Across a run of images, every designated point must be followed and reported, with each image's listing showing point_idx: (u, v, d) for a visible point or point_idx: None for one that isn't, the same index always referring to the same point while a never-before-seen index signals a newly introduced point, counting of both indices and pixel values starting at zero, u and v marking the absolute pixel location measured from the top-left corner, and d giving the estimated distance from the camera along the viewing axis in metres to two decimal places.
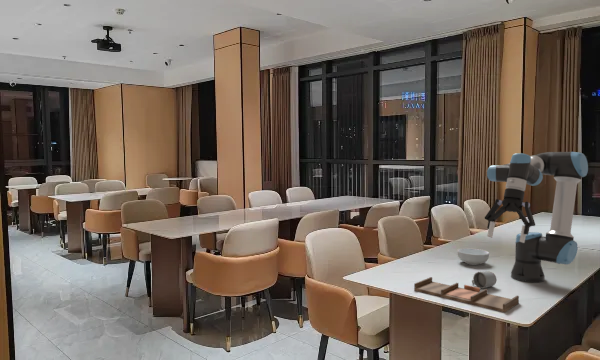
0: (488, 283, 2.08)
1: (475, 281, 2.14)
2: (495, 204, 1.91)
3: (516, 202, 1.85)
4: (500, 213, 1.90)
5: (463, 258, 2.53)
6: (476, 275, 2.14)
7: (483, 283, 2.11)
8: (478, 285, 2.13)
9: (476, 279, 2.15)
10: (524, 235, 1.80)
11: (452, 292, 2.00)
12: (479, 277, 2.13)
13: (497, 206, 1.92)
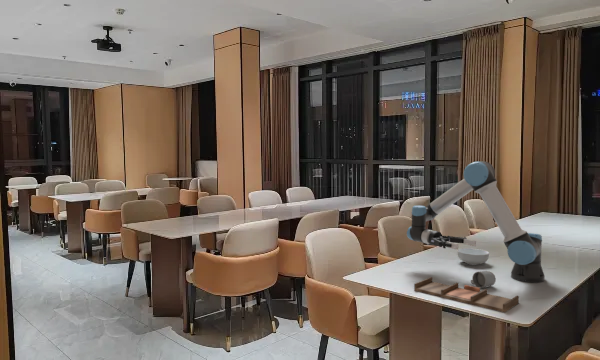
0: (487, 283, 2.09)
1: (474, 281, 2.15)
2: None
3: None
4: (454, 240, 2.31)
5: (463, 258, 2.53)
6: (475, 275, 2.15)
7: (482, 283, 2.11)
8: (477, 285, 2.13)
9: (475, 279, 2.15)
10: (452, 245, 2.19)
11: (452, 292, 2.00)
12: (478, 277, 2.13)
13: None
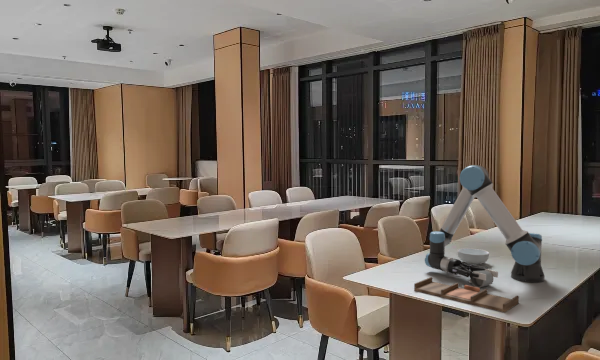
0: (485, 282, 2.10)
1: (472, 280, 2.15)
2: None
3: None
4: (474, 270, 2.21)
5: (463, 258, 2.53)
6: None
7: (480, 282, 2.12)
8: (475, 284, 2.14)
9: (473, 278, 2.16)
10: (479, 275, 2.09)
11: (452, 292, 2.00)
12: None
13: (472, 267, 2.25)
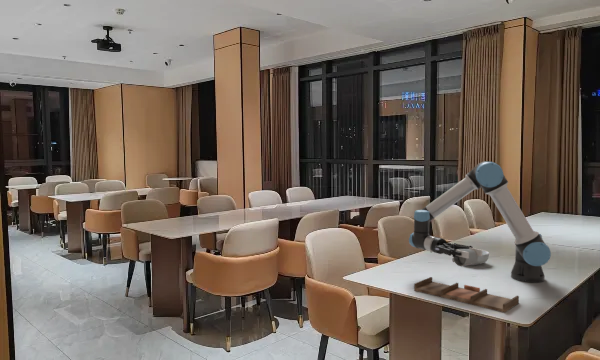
0: (468, 261, 2.00)
1: (455, 259, 2.05)
2: None
3: None
4: None
5: None
6: None
7: (463, 261, 2.02)
8: (458, 263, 2.04)
9: (456, 257, 2.06)
10: (462, 253, 2.00)
11: (452, 292, 2.00)
12: None
13: None
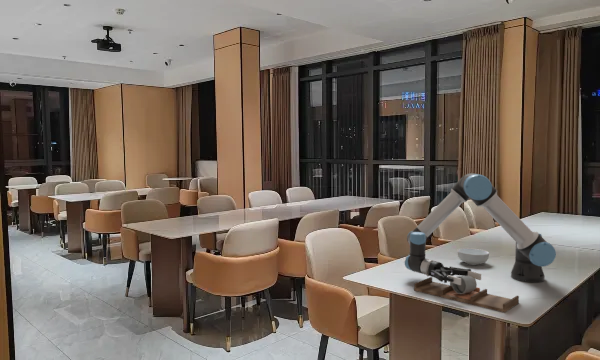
0: (467, 290, 1.94)
1: (454, 284, 2.00)
2: None
3: None
4: (456, 272, 2.07)
5: (463, 258, 2.53)
6: None
7: (462, 289, 1.96)
8: (456, 289, 1.99)
9: None
10: (454, 279, 1.94)
11: (452, 292, 2.00)
12: None
13: None
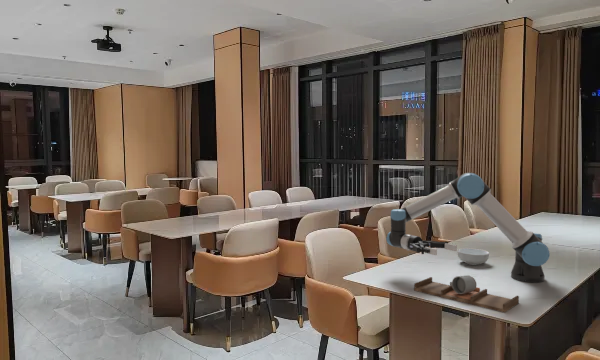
0: (467, 290, 1.94)
1: (453, 284, 2.00)
2: None
3: None
4: (434, 245, 2.17)
5: (463, 258, 2.53)
6: (456, 278, 1.99)
7: (462, 289, 1.96)
8: (456, 289, 1.99)
9: (455, 282, 2.00)
10: (430, 250, 2.05)
11: (452, 292, 2.00)
12: (458, 281, 1.98)
13: None
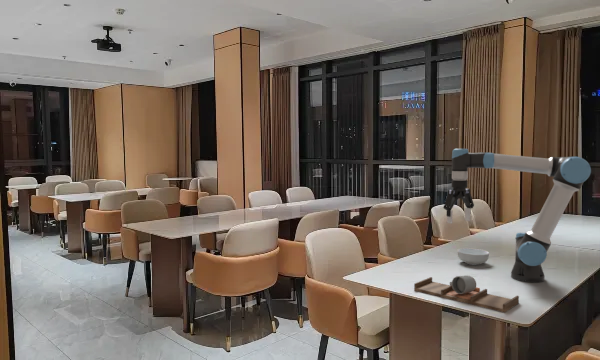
0: (467, 290, 1.94)
1: (453, 284, 2.00)
2: None
3: None
4: (464, 200, 2.27)
5: (463, 258, 2.53)
6: (456, 278, 1.99)
7: (461, 289, 1.96)
8: (456, 289, 1.99)
9: (455, 282, 2.00)
10: (449, 217, 2.21)
11: (452, 292, 2.00)
12: (458, 281, 1.98)
13: (467, 194, 2.27)
